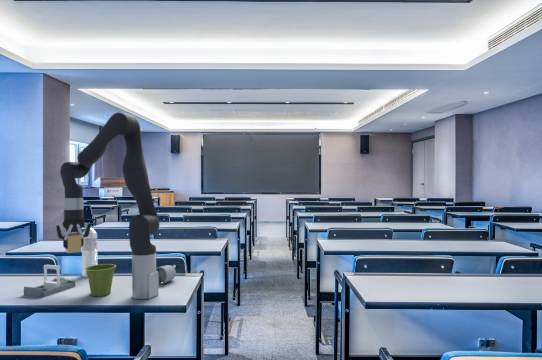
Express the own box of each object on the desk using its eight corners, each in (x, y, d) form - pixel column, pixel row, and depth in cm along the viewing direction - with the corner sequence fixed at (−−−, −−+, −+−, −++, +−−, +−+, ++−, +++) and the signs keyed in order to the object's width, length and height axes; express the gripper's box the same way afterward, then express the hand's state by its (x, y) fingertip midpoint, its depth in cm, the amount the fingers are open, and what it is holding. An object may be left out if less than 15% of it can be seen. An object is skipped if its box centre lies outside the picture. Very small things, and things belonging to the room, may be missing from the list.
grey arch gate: (60, 289, 157) (60, 265, 156) (57, 290, 155) (56, 266, 155) (46, 288, 159) (46, 264, 159) (43, 289, 157) (43, 265, 157)
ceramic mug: (177, 280, 173) (177, 263, 173) (166, 285, 166) (166, 267, 166) (158, 278, 177) (157, 262, 177) (147, 283, 169) (146, 266, 169)
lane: (75, 287, 162) (75, 278, 162) (42, 299, 147) (42, 288, 147) (57, 285, 166) (57, 276, 166) (23, 296, 150) (23, 286, 150)
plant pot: (122, 291, 156) (122, 265, 156) (99, 300, 145) (99, 271, 145) (102, 288, 161) (102, 262, 161) (78, 296, 150) (78, 268, 150)
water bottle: (91, 278, 177) (91, 226, 177) (78, 278, 179) (78, 226, 178) (100, 275, 184) (100, 224, 184) (88, 274, 185) (88, 224, 185)
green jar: (68, 286, 162) (68, 277, 162) (58, 290, 157) (58, 280, 157) (59, 285, 163) (59, 276, 163) (49, 289, 159) (49, 279, 159)
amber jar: (81, 251, 160) (81, 233, 160) (68, 253, 156) (68, 234, 156) (78, 249, 163) (78, 231, 163) (65, 251, 160) (65, 232, 160)
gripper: (56, 209, 152) (56, 251, 153) (93, 208, 162) (93, 247, 162) (53, 208, 158) (52, 248, 158) (89, 207, 167) (89, 244, 167)
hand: (73, 247), depth 160 cm, fingers closed on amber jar, 5 cm apart
